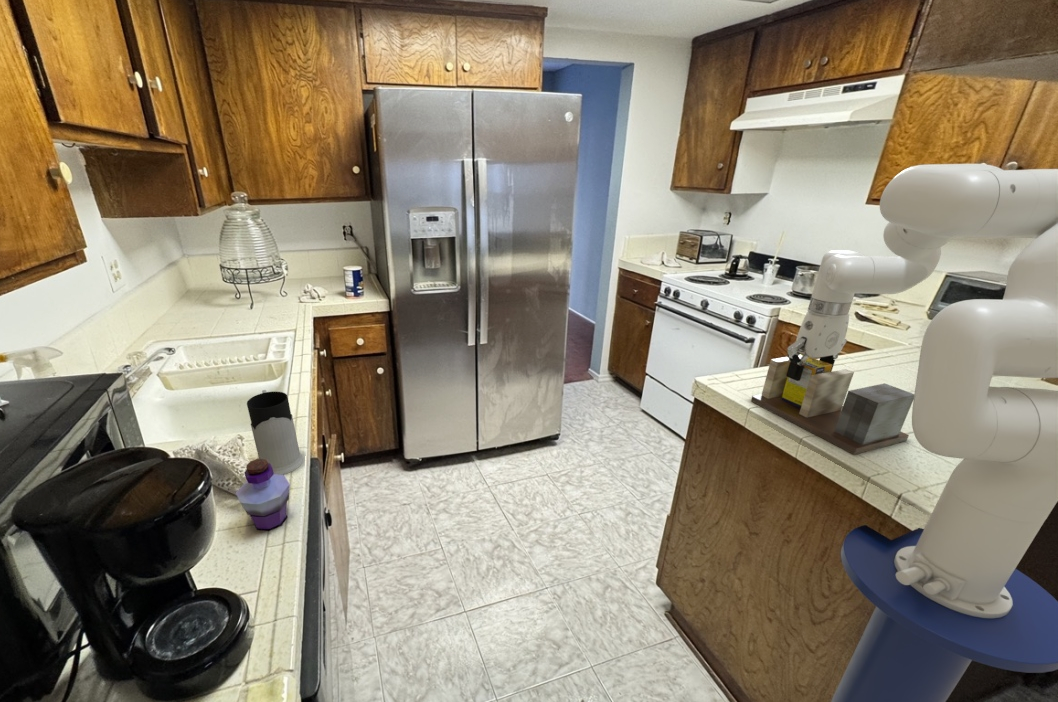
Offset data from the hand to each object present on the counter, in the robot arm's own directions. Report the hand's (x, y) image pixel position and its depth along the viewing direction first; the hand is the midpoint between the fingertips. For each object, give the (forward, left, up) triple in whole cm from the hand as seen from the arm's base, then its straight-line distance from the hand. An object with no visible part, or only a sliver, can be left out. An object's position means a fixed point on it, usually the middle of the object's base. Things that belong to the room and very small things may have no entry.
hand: (808, 375), depth 113 cm
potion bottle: (-123, 0, -9) cm, 123 cm away
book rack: (0, -6, -9) cm, 11 cm away
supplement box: (0, 0, -7) cm, 7 cm away
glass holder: (-123, +21, -9) cm, 125 cm away
